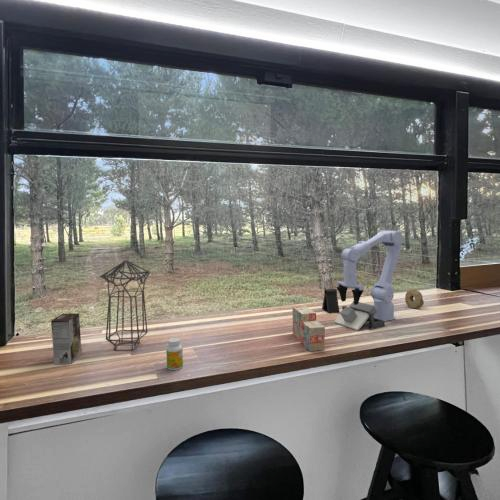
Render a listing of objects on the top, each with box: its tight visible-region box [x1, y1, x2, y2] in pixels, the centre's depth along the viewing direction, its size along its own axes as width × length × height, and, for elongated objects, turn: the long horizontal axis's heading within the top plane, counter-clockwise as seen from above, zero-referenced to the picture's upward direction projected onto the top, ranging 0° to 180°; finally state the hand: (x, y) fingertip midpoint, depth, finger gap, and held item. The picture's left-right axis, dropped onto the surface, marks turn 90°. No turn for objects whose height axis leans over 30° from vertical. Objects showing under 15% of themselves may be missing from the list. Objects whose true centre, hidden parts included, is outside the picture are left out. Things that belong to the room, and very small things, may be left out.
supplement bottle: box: [165, 337, 184, 371], centre depth 118 cm, size 5×5×10 cm
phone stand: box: [321, 288, 340, 314], centre depth 186 cm, size 9×6×12 cm, turn 13°
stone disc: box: [404, 289, 425, 309], centre depth 189 cm, size 10×4×10 cm, turn 26°
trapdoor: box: [333, 300, 377, 331], centre depth 162 cm, size 15×14×4 cm
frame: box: [341, 305, 386, 330], centre depth 164 cm, size 9×18×7 cm, turn 31°
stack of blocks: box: [292, 305, 326, 352], centre depth 140 cm, size 21×6×12 cm, turn 10°
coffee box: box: [50, 313, 83, 366], centre depth 125 cm, size 9×6×16 cm
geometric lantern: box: [99, 260, 151, 352], centre depth 136 cm, size 16×16×35 cm
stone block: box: [339, 306, 357, 323], centre depth 159 cm, size 4×4×5 cm
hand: (349, 302), depth 162 cm, fingers open, 7 cm apart
